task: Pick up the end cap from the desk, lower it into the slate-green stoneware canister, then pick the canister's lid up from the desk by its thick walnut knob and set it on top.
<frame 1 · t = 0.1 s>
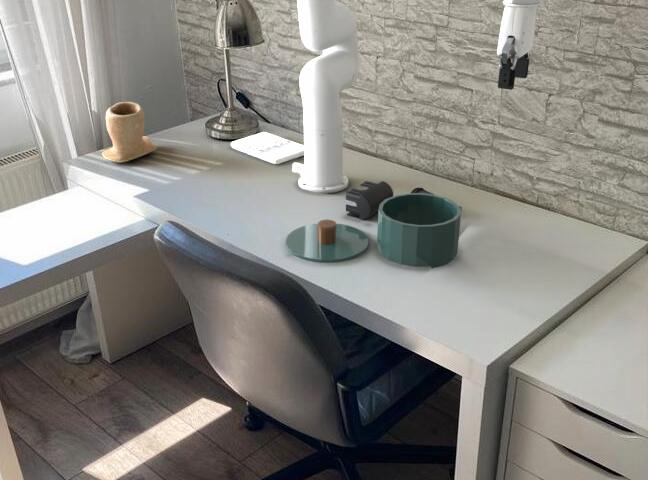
hand: (512, 82, 166), 31 cm above the table, tool pointing down, fingers open, 9 cm apart
white flat block: (270, 151, 222), on the table
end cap: (369, 214, 185), on the table
stone cup: (133, 157, 219), on the table
canister: (417, 250, 168), on the table
electric trimmer: (434, 207, 188), on the table
lid: (326, 243, 171), point 1 cm above the table
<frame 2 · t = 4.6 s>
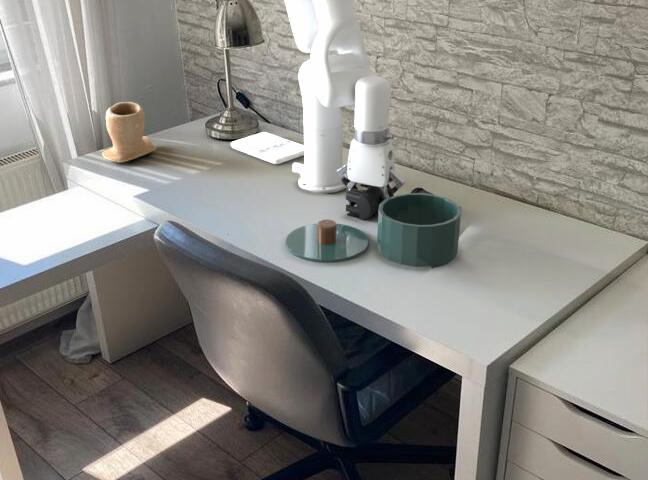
hand: (369, 208, 184), 2 cm above the table, tool pointing down, fingers closed on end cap, 7 cm apart
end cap: (369, 215, 185), on the table, touching gripper
everything else where it was.
when the fingers open (6 cm above the table, at t = 10.2 s): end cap drops 4 cm, resting on canister.
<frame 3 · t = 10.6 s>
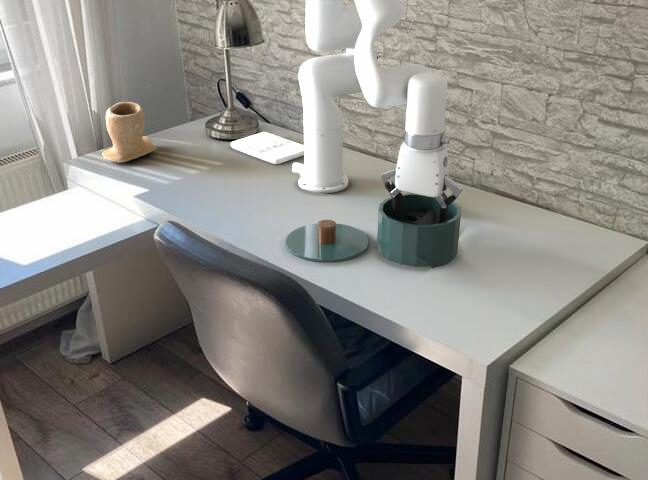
hand: (418, 218, 165), 7 cm above the table, tool pointing down, fingers open, 9 cm apart
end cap: (418, 247, 169), resting on canister
everything else where it was.
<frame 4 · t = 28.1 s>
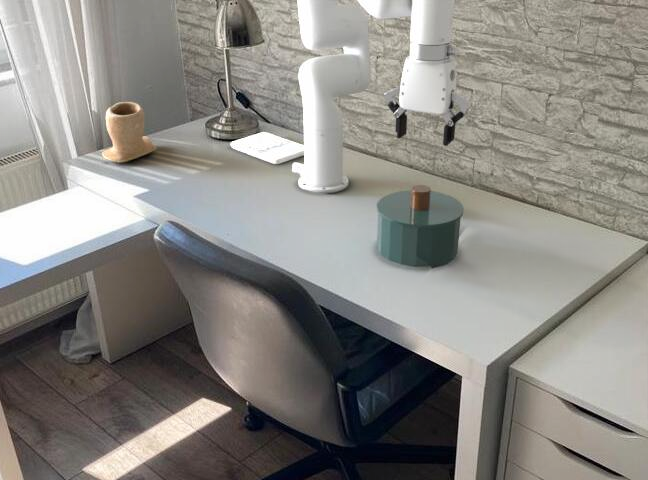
hand: (424, 139, 156), 24 cm above the table, tool pointing down, fingers open, 9 cm apart
lid: (419, 209, 164), point 9 cm above the table, touching canister
everything else where it was.
at the end: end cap inside the target area in the canister (0.7 cm from its centre), point 0.3 cm above the canister's base; lid 0.1 cm off-centre on the canister, point 9.5 cm above the canister's base; lid tilted 0° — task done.
